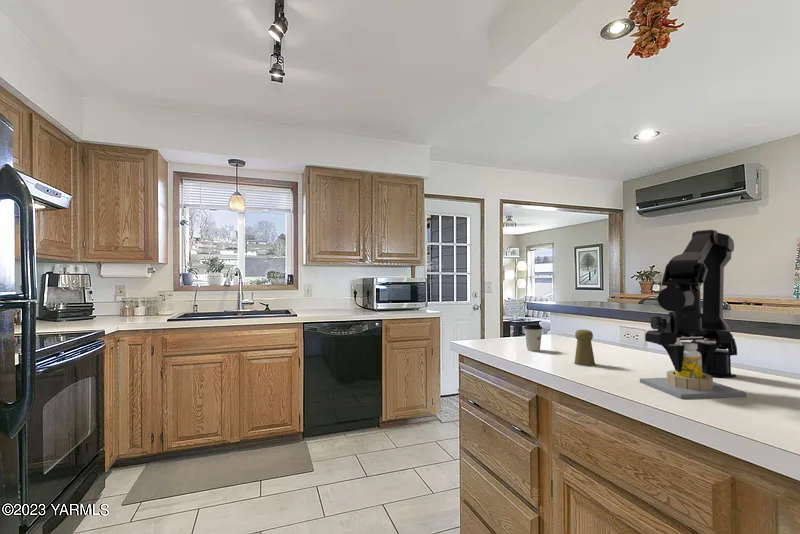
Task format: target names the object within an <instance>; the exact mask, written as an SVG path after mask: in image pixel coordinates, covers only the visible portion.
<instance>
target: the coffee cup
mask: <svg viewBox="0 0 800 534" xmlns="http://www.w3.org/2000/svg"><path fill="white" fill-rule="evenodd" d="M523 329H524V335H525V343H526V350H527V351H528V352H540V351H541V343H542V334H543V333H542V332H543V326H542V325H541V324H539V323H526V325H524V326H523Z"/></svg>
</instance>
